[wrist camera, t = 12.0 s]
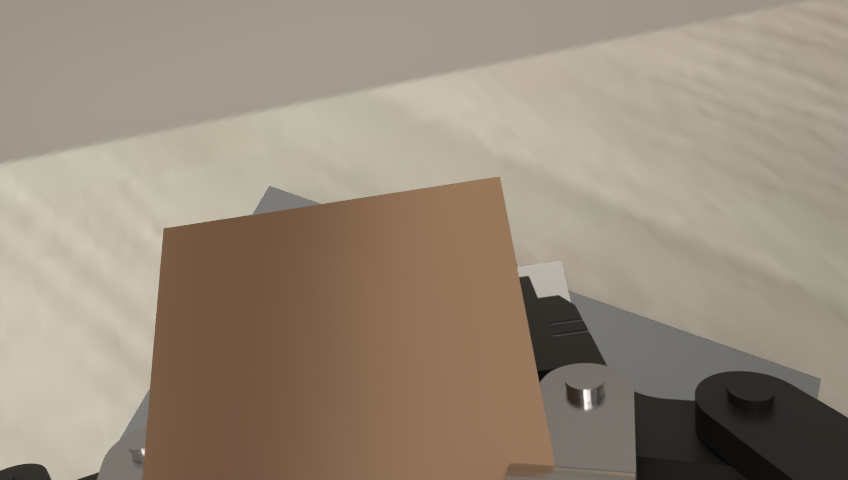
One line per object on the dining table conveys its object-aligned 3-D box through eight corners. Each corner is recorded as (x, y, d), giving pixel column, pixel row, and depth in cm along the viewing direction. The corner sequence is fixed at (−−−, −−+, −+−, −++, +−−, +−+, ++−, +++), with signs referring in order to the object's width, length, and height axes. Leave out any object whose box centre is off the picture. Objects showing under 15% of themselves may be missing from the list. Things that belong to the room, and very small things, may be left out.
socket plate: (804, 386, 18) (882, 351, 14) (705, 890, 13) (780, 1026, 10) (278, 199, 22) (235, 137, 19) (87, 530, 18) (-16, 532, 15)
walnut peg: (500, 359, 16) (499, 176, 8) (530, 541, 14) (575, 571, 6) (339, 381, 16) (163, 228, 8) (348, 564, 15) (129, 623, 6)
